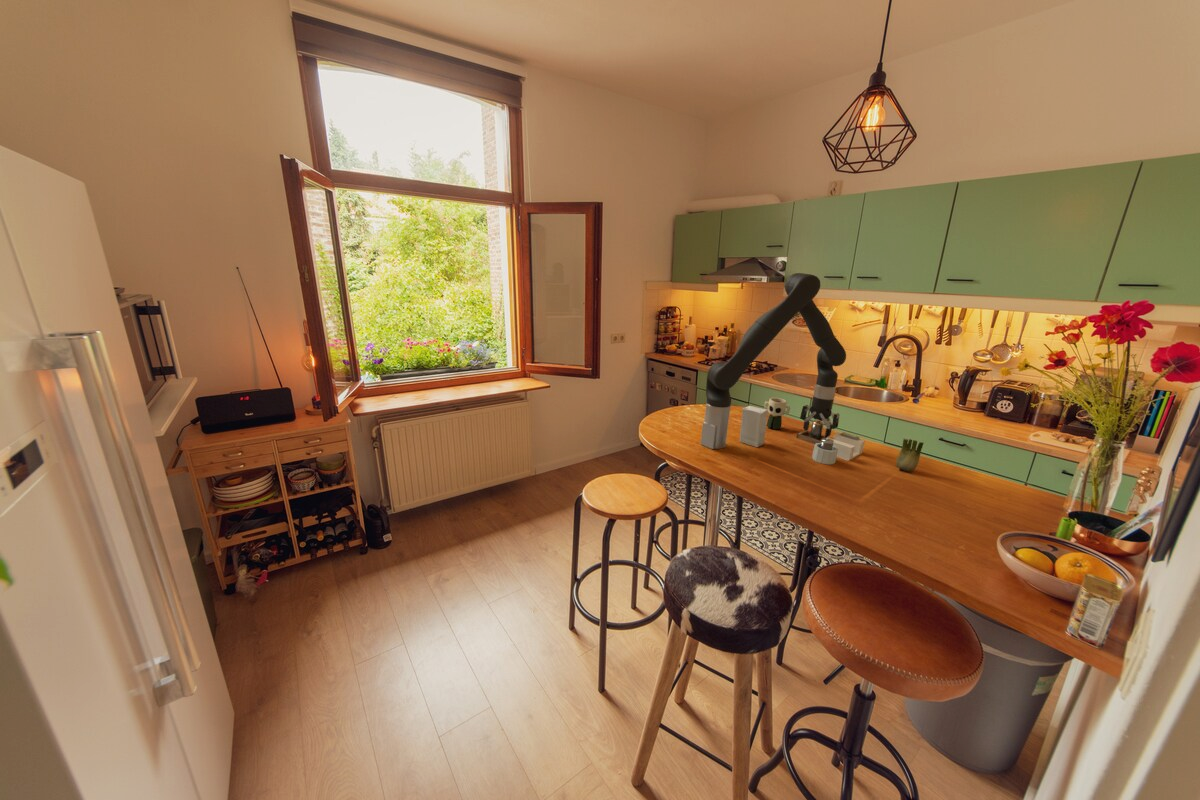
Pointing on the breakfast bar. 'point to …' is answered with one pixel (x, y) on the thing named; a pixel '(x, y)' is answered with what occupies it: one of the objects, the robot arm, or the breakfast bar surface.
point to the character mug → (776, 412)
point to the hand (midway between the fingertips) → (816, 433)
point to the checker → (848, 445)
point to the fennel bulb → (909, 455)
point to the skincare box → (753, 426)
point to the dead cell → (826, 444)
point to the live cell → (816, 430)
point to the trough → (806, 437)
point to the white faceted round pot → (824, 454)
